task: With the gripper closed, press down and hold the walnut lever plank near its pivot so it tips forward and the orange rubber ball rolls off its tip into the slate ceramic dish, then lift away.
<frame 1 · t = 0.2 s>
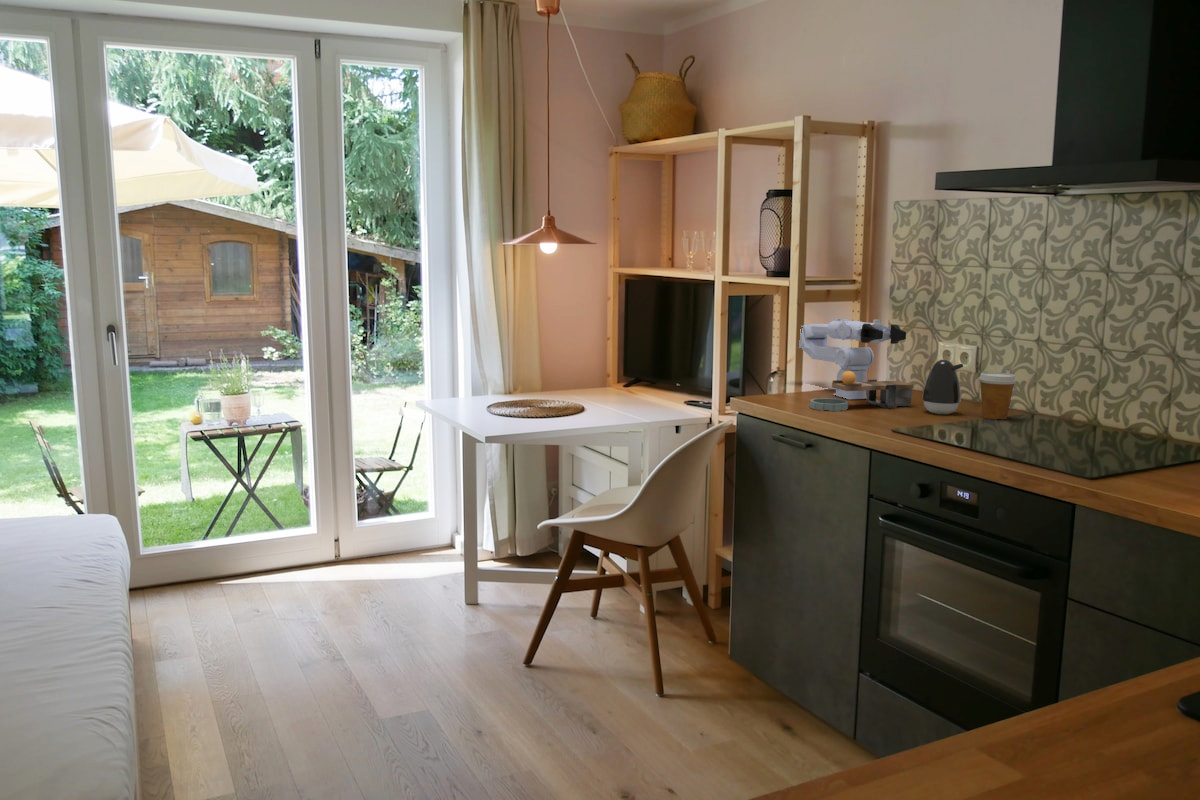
hand: (893, 335, 280), 21 cm above the worktop, tool horizontal, fingers open, 7 cm apart
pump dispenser: (940, 413, 276), on the worktop
lever: (872, 392, 286), point 4 cm above the worktop, hinge at 0.0°, touching ball
ball: (848, 377, 283), point 9 cm above the worktop, touching lever
lever stand: (880, 405, 288), on the worktop
disposable coffee cup: (994, 418, 270), on the worktop
dish: (828, 407, 283), on the worktop
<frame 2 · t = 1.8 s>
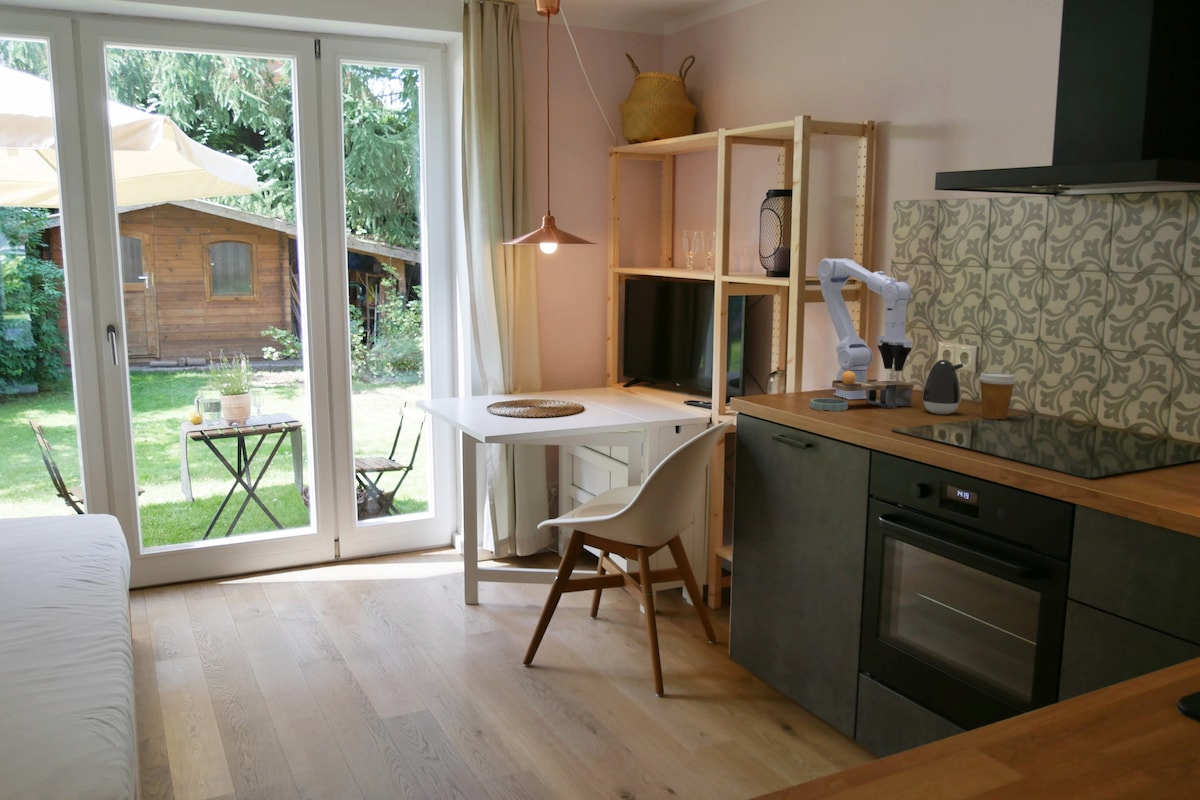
hand: (893, 369, 288), 10 cm above the worktop, tool pointing down, fingers open, 5 cm apart
nothing on the worktop moved.
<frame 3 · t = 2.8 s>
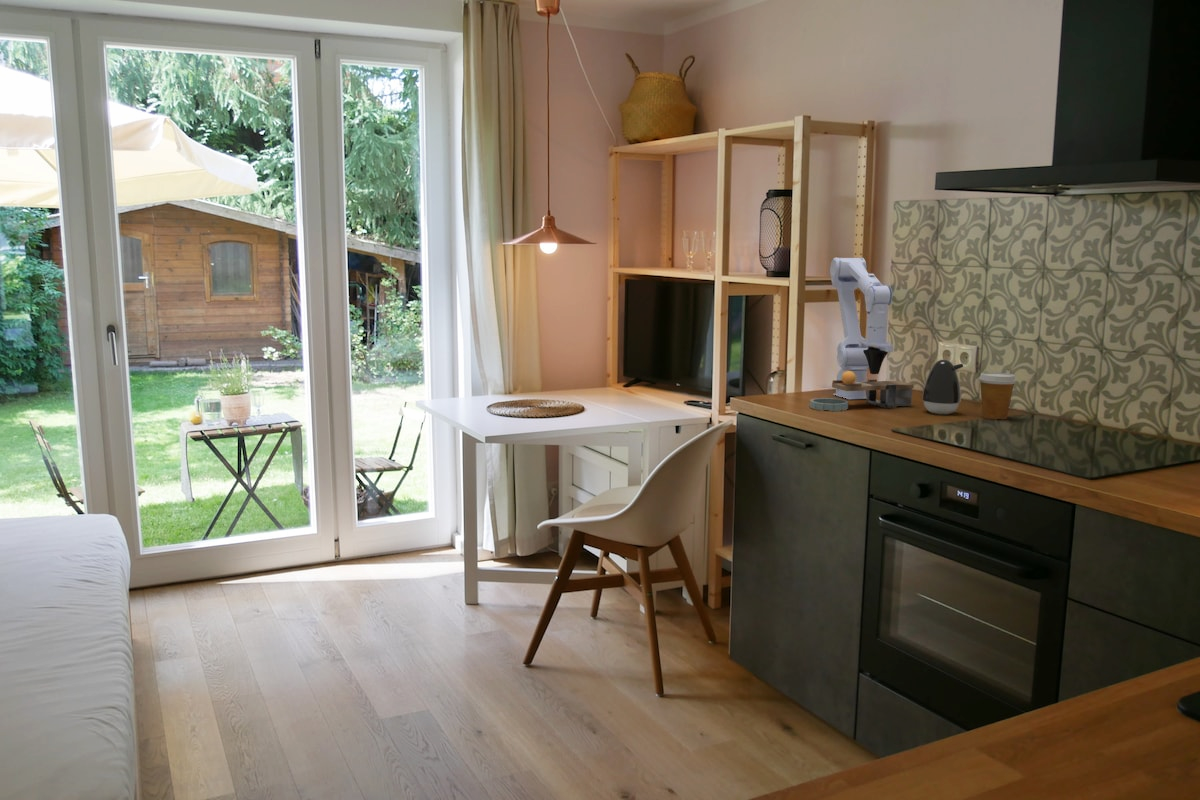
hand: (874, 373, 286), 9 cm above the worktop, tool pointing down, fingers closed
nothing on the worktop moved.
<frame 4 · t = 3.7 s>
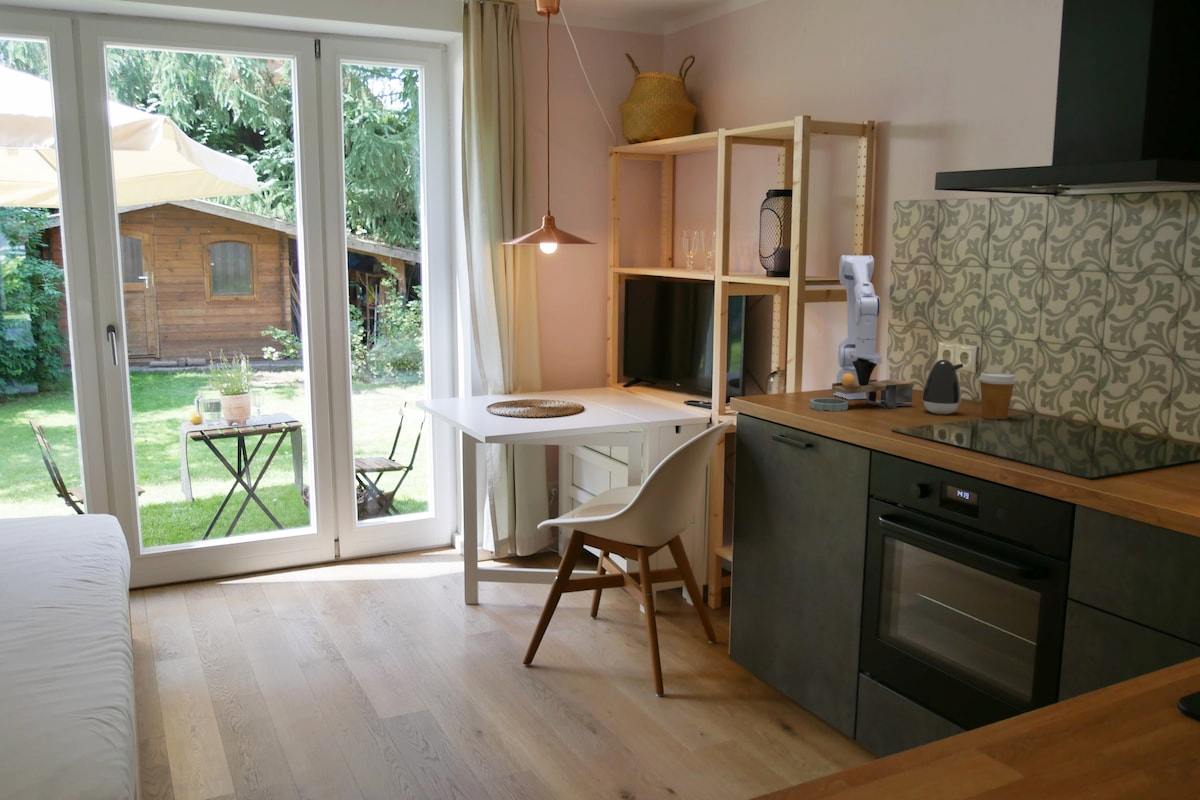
hand: (863, 385, 285), 6 cm above the worktop, tool pointing down, fingers closed, pressing on lever
lever: (872, 392, 286), point 4 cm above the worktop, hinge at 3.7°, touching ball, gripper
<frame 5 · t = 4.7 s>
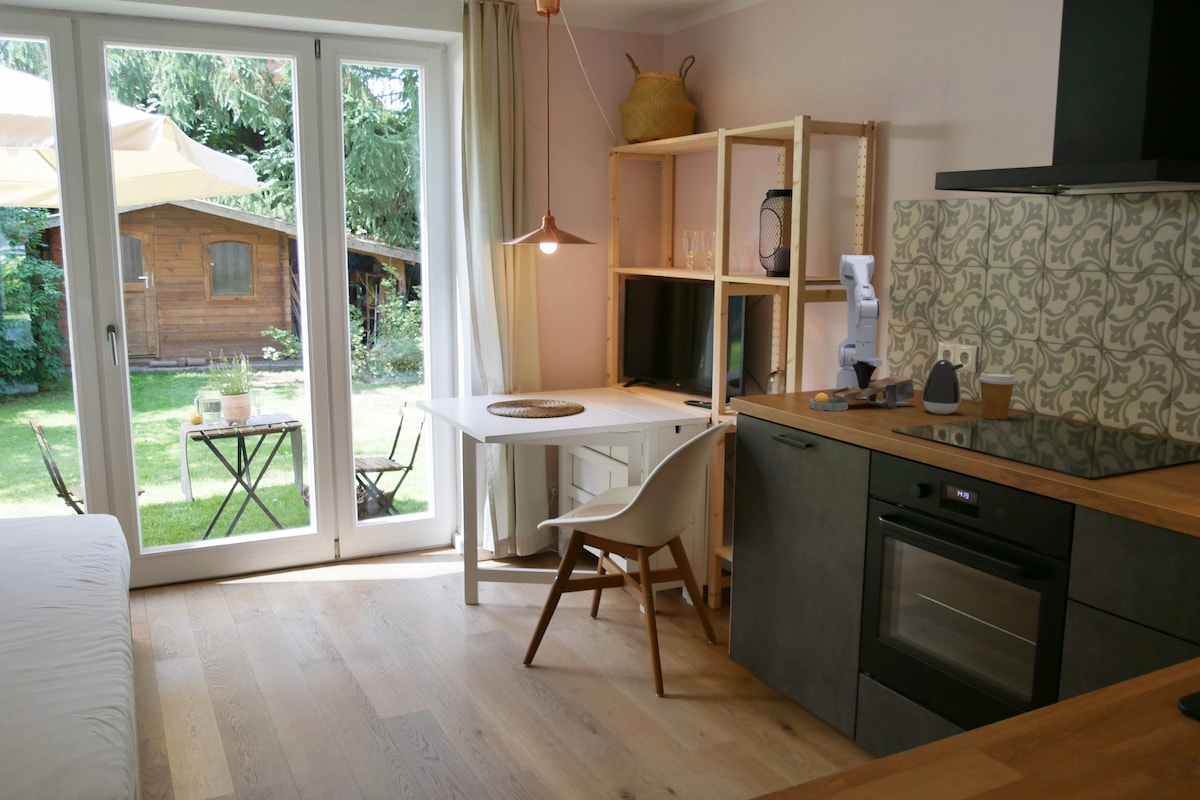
hand: (863, 388, 285), 5 cm above the worktop, tool pointing down, fingers closed, pressing on lever
lever: (873, 394, 286), point 4 cm above the worktop, hinge at 13.0°, touching gripper
ball: (821, 399, 282), point 2 cm above the worktop, tilted 88°, touching dish
everything else where it was.
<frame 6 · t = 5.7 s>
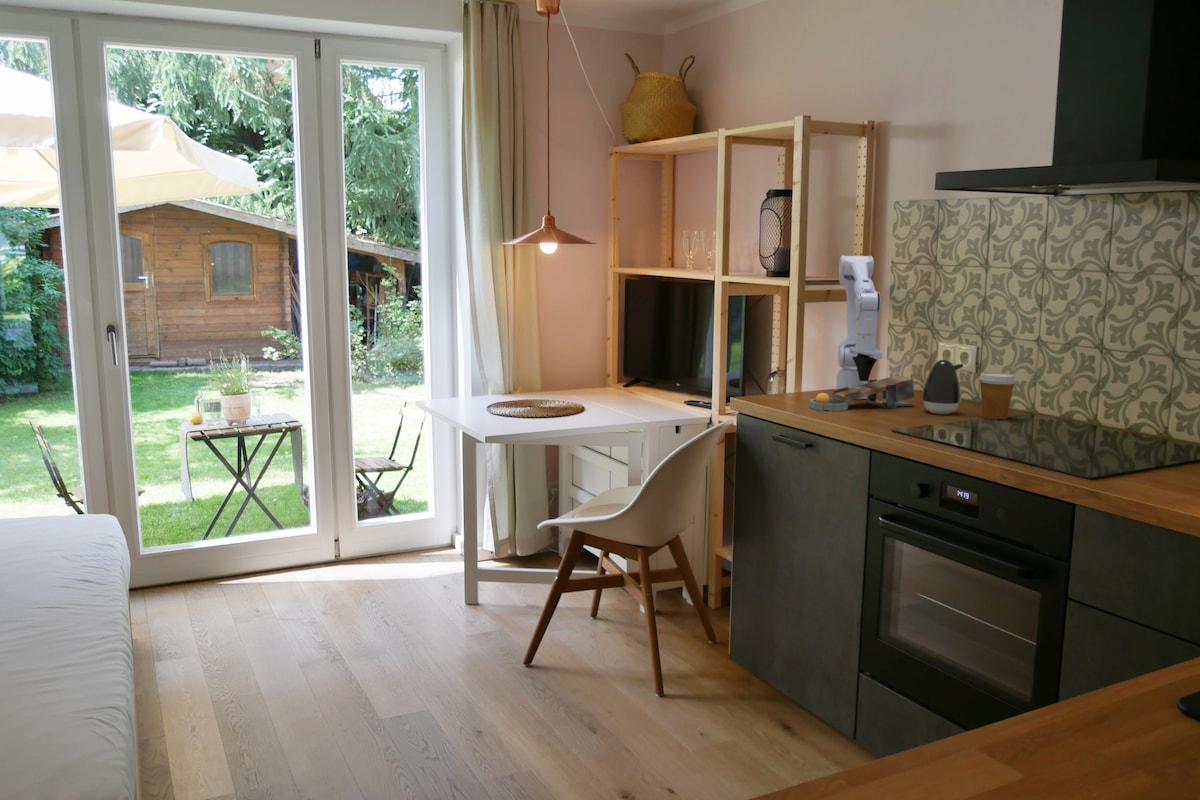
hand: (863, 380, 285), 8 cm above the worktop, tool pointing down, fingers closed
lever: (873, 393, 286), point 4 cm above the worktop, hinge at 12.4°
ball: (822, 399, 282), point 2 cm above the worktop, tilted 96°, touching dish
everything else where it was.
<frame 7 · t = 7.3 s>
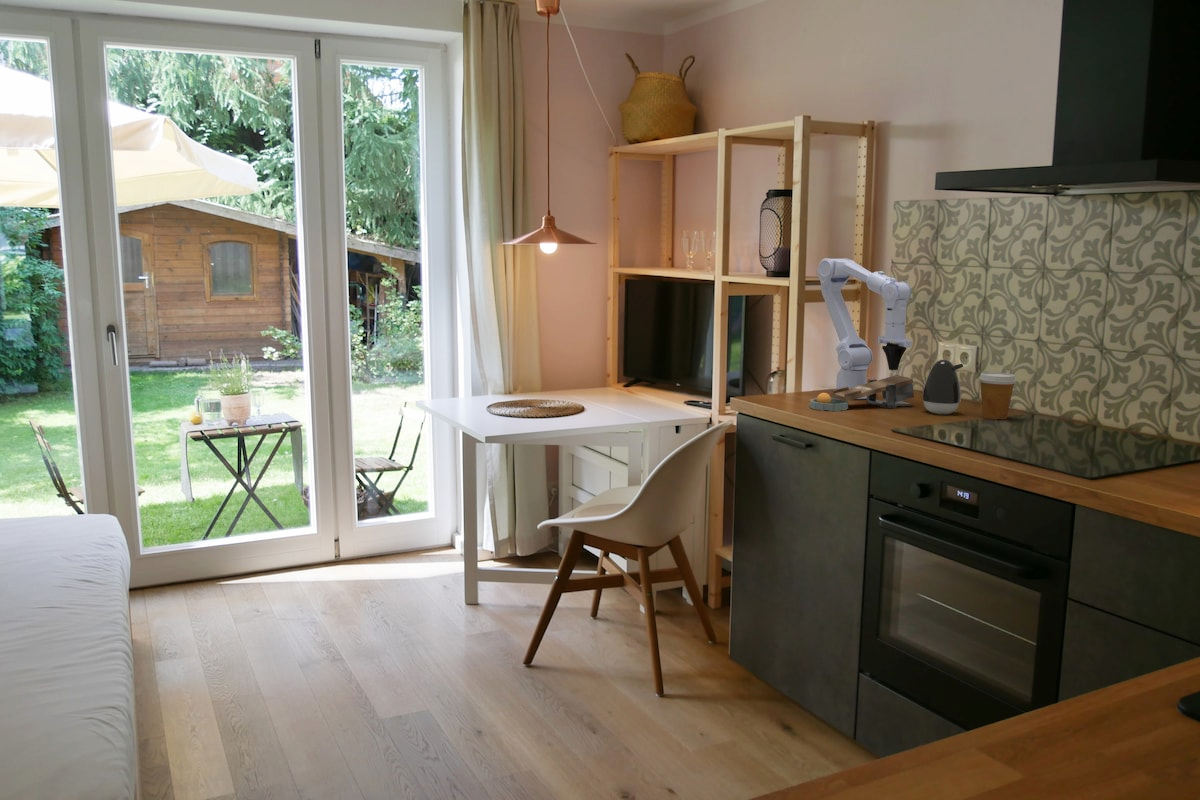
hand: (893, 369, 288), 10 cm above the worktop, tool pointing down, fingers closed
ball: (823, 399, 282), point 2 cm above the worktop, tilted 108°, touching dish
everything else where it was.
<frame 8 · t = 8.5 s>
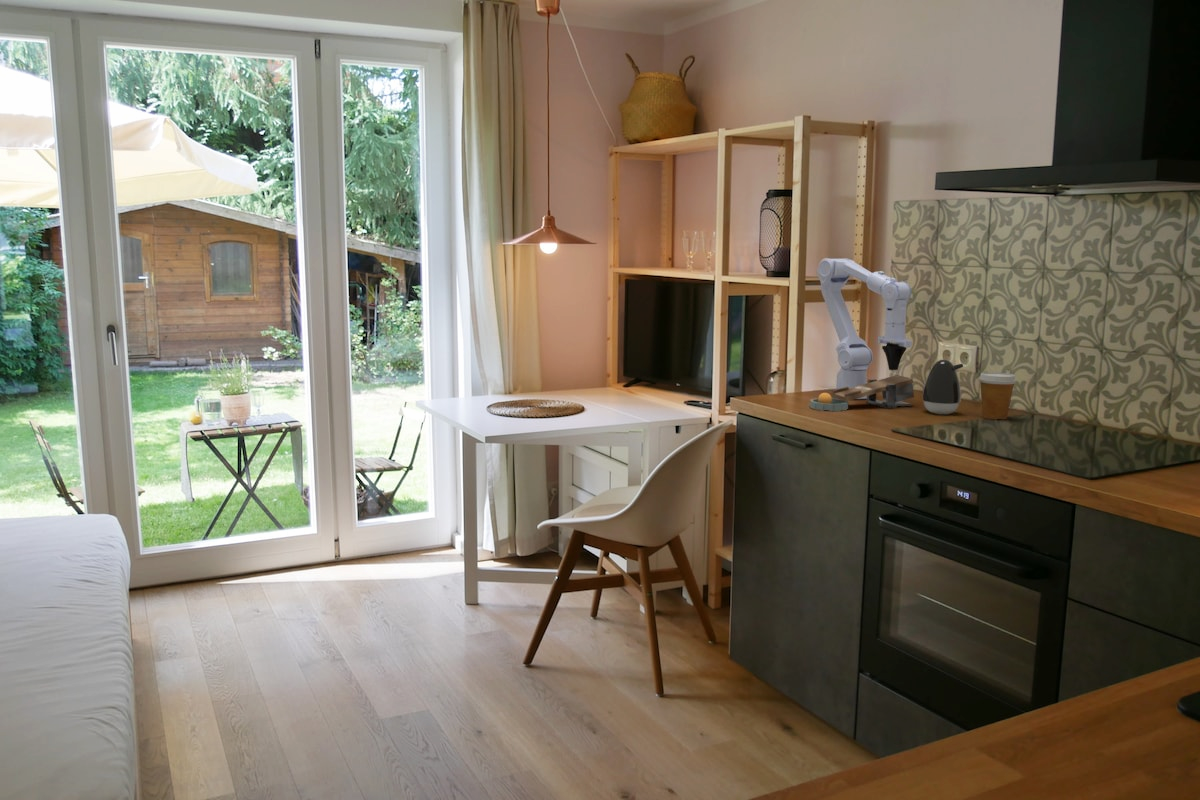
hand: (893, 369, 288), 10 cm above the worktop, tool pointing down, fingers closed
ball: (824, 399, 282), point 2 cm above the worktop, tilted 118°, touching dish
everything else where it was.
at the end: ball 1.4 cm off-centre on the dish, point 2.5 cm above the dish's base; ball touching dish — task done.
